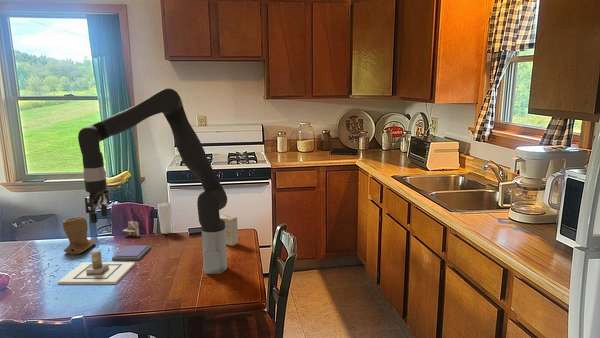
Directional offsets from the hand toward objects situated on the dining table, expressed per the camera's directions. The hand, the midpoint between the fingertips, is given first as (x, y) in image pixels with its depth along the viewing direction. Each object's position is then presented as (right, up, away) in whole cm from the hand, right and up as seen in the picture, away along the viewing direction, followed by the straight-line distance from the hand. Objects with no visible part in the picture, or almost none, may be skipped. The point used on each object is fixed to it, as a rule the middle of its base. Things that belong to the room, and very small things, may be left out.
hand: (99, 219), depth 163 cm
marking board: (-2, -22, +3) cm, 22 cm away
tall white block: (+10, -13, +51) cm, 54 cm away
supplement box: (+44, -16, +35) cm, 59 cm away
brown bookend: (-24, -18, +29) cm, 42 cm away
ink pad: (+3, -18, +23) cm, 30 cm away
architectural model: (-6, -15, +47) cm, 50 cm away
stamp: (-2, -21, +3) cm, 21 cm away
